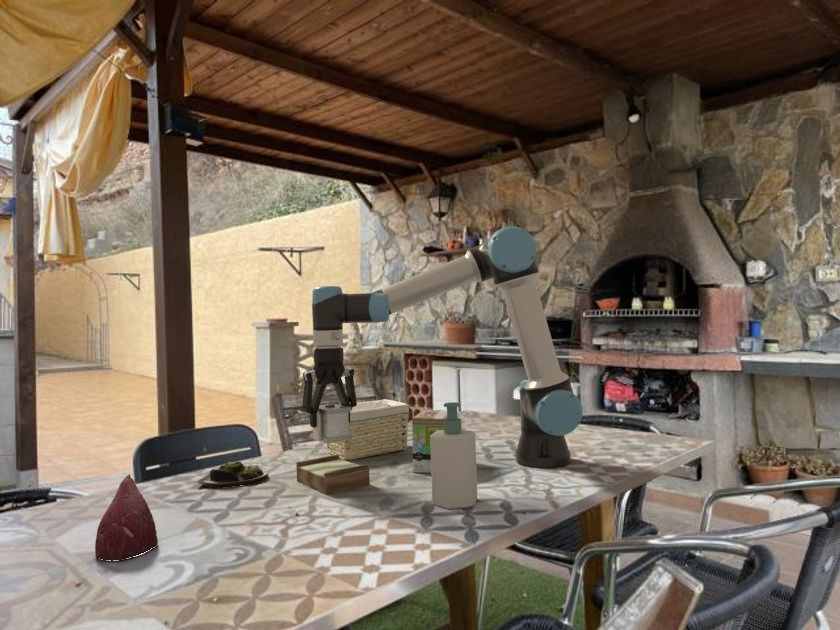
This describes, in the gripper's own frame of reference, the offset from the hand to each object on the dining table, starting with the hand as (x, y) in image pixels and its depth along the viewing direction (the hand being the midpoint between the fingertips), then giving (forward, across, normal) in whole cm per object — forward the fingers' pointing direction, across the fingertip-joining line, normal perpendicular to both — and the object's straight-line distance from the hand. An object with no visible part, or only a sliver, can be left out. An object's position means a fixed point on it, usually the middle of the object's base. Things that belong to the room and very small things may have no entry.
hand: (330, 437), depth 152 cm
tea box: (+12, +30, -5) cm, 32 cm away
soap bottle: (+12, +13, -33) cm, 37 cm away
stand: (+12, 0, 0) cm, 12 cm away
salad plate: (+12, -17, +22) cm, 31 cm away
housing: (0, 0, 0) cm, 0 cm away
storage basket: (+12, +26, +24) cm, 37 cm away
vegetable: (+12, -50, -13) cm, 53 cm away
